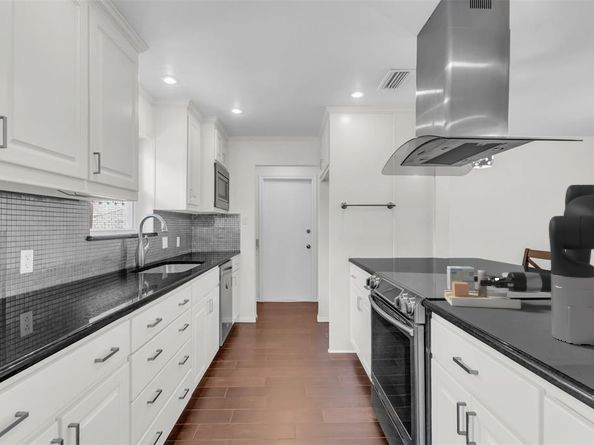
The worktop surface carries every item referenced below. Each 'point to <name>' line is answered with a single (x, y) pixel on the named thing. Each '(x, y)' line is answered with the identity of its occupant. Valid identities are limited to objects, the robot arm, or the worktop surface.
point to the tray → (486, 301)
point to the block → (460, 289)
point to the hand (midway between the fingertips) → (477, 280)
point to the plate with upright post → (481, 289)
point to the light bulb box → (461, 276)
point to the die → (505, 276)
